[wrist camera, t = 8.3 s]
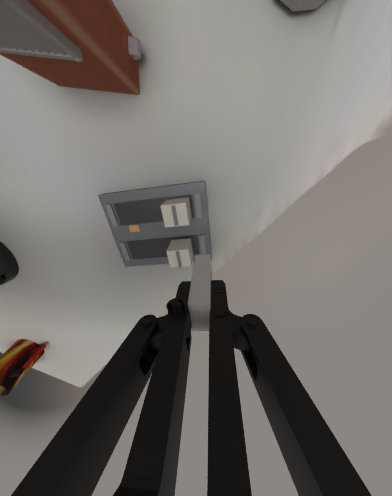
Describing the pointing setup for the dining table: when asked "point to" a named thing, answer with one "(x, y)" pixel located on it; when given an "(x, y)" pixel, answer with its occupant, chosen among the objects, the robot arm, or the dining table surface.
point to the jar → (302, 4)
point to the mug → (18, 363)
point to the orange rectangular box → (71, 43)
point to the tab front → (176, 212)
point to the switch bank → (155, 222)
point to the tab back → (180, 253)
